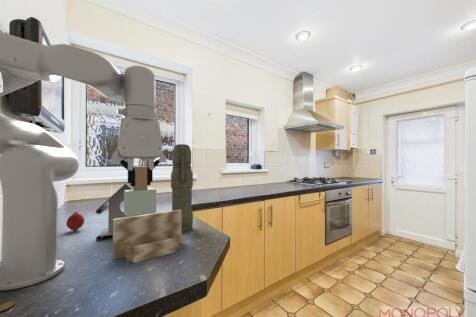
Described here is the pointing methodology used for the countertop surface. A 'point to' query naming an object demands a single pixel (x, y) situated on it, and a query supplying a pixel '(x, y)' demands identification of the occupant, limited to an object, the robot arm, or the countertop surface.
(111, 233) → the grey nesting box
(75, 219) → the onion
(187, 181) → the green carved statue
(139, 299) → the countertop surface
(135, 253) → the wooden box
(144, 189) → the green and brown block
